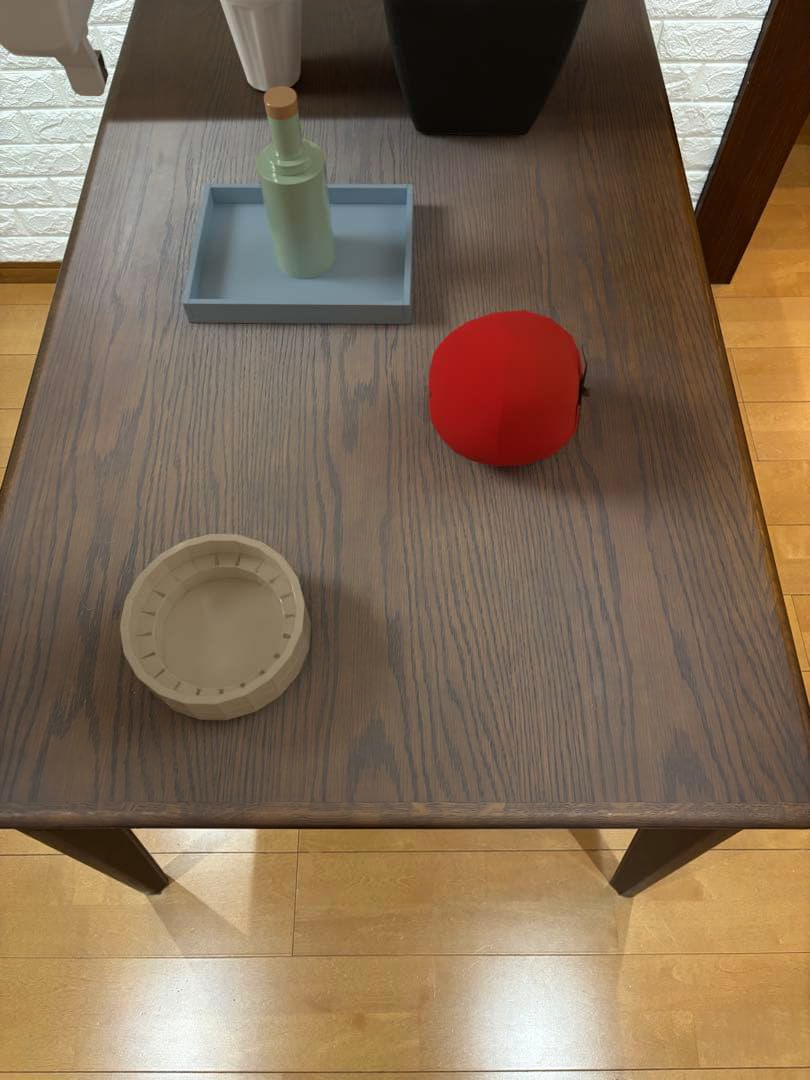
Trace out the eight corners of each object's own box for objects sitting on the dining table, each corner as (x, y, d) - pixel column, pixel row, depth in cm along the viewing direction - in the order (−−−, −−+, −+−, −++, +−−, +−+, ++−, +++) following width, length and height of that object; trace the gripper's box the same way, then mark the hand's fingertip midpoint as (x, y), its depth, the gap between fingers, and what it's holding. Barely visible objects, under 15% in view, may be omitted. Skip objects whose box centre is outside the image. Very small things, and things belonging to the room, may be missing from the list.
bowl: (127, 721, 61) (104, 702, 57) (156, 561, 67) (137, 532, 63) (304, 724, 61) (295, 705, 56) (317, 563, 67) (310, 534, 62)
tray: (188, 322, 79) (181, 303, 76) (211, 203, 86) (205, 183, 84) (410, 324, 78) (409, 305, 76) (413, 204, 86) (413, 183, 83)
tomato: (422, 458, 75) (569, 472, 74) (418, 460, 62) (594, 476, 62) (435, 316, 73) (585, 328, 73) (433, 288, 61) (614, 303, 60)
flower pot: (563, 156, 89) (592, -8, 74) (387, 157, 89) (381, -6, 74) (550, 48, 97) (574, -119, 82) (390, 49, 98) (385, -116, 83)
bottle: (272, 279, 80) (238, 120, 65) (278, 234, 83) (247, 72, 68) (334, 279, 80) (314, 120, 65) (337, 235, 83) (319, 72, 68)
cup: (334, 74, 96) (323, -49, 84) (273, 117, 92) (252, -5, 81) (274, 40, 99) (255, -83, 87) (213, 81, 95) (184, -42, 84)
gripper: (-3, -362, 42) (88, -59, 54) (-132, -165, 32) (15, 149, 44) (122, -360, 42) (185, -57, 54) (30, -162, 32) (132, 151, 44)
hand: (108, 38), depth 49 cm, fingers open, 8 cm apart
